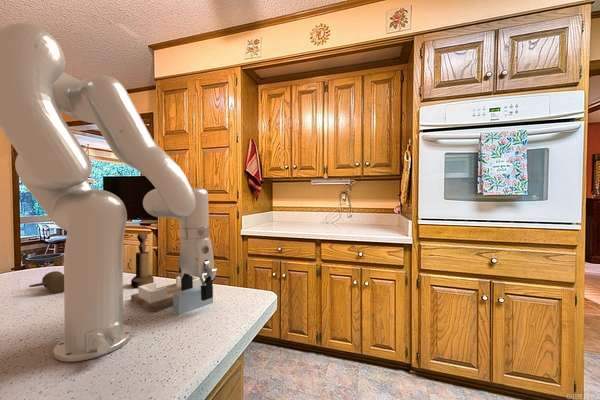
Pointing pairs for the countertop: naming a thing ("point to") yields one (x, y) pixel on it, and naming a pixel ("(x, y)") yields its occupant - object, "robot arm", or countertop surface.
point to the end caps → (160, 290)
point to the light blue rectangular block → (189, 300)
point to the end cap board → (159, 304)
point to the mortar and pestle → (142, 264)
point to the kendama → (52, 282)
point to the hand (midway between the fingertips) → (196, 294)
